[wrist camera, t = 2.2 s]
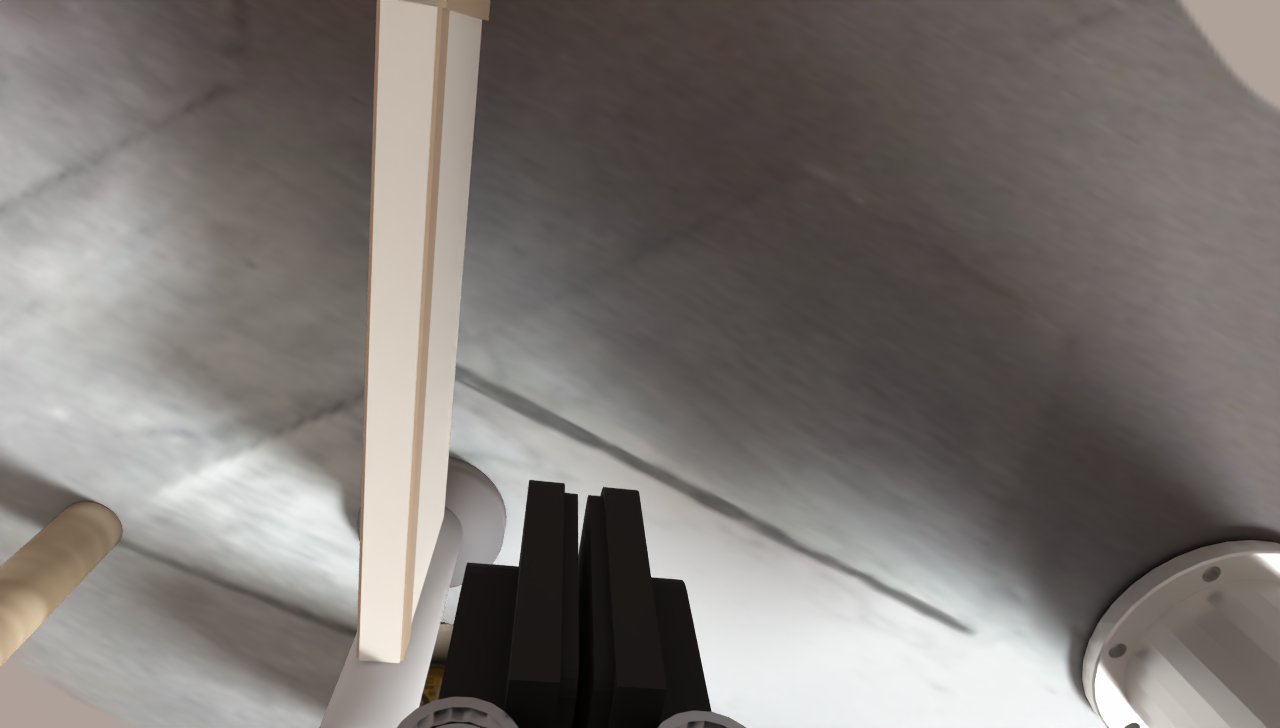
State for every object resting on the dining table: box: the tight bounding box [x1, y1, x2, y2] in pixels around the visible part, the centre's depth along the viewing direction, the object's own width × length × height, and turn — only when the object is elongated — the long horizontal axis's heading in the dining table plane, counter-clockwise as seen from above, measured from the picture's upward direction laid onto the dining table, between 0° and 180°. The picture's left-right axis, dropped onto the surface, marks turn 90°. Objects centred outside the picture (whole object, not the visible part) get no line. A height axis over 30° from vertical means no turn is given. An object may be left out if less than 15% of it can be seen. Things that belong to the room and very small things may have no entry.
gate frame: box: [0, 457, 506, 667], centre depth 23 cm, size 18×28×12 cm, turn 171°
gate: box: [320, 0, 490, 728], centre depth 24 cm, size 23×3×11 cm, turn 171°
